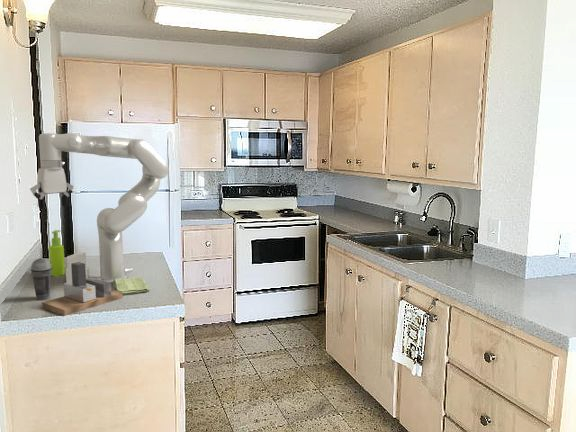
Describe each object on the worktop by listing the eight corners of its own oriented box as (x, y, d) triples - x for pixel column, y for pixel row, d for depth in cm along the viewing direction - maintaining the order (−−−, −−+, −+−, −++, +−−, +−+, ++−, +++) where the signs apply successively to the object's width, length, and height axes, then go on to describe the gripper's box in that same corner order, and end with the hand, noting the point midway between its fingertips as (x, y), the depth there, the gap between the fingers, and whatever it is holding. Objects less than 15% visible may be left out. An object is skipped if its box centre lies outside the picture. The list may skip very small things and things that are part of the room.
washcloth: (116, 297, 187) (116, 289, 186) (112, 285, 202) (111, 278, 202) (151, 293, 192) (150, 285, 192) (144, 282, 208) (143, 275, 207)
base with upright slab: (80, 285, 201) (79, 257, 199) (61, 283, 202) (60, 256, 201) (93, 279, 209) (92, 252, 208) (75, 278, 211) (73, 251, 209)
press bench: (100, 291, 193) (99, 274, 192) (122, 297, 185) (122, 280, 184) (42, 307, 173) (41, 288, 172) (64, 315, 165) (63, 295, 164)
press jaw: (76, 293, 183) (74, 259, 181) (98, 299, 175) (96, 265, 173) (64, 296, 178) (62, 262, 177) (85, 303, 171) (84, 267, 169)
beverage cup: (48, 294, 188) (45, 244, 185) (57, 298, 184) (54, 247, 181) (29, 298, 183) (25, 247, 180) (37, 302, 178) (34, 250, 175)
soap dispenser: (68, 272, 221) (65, 229, 218) (61, 276, 214) (59, 232, 211) (55, 272, 221) (52, 229, 218) (48, 276, 214) (45, 232, 211)
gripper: (66, 164, 198) (68, 205, 201) (24, 165, 184) (27, 209, 187) (76, 164, 194) (79, 206, 197) (34, 165, 180) (37, 210, 183)
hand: (53, 207), depth 192 cm, fingers open, 9 cm apart
